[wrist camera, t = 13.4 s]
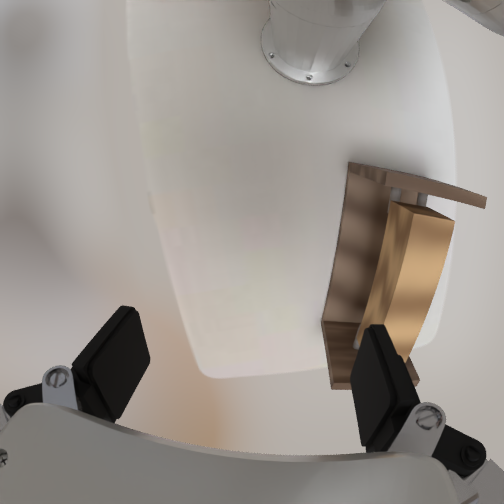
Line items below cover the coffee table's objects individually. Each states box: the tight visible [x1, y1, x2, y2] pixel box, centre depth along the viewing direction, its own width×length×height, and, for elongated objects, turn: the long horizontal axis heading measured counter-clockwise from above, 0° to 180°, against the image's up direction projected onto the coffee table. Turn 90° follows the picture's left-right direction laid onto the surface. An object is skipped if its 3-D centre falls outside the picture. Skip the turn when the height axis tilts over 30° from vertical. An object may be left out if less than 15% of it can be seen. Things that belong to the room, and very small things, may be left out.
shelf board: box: [357, 200, 455, 363], centre depth 27 cm, size 18×5×6 cm, turn 176°
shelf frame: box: [321, 162, 487, 390], centre depth 31 cm, size 24×12×14 cm, turn 176°
